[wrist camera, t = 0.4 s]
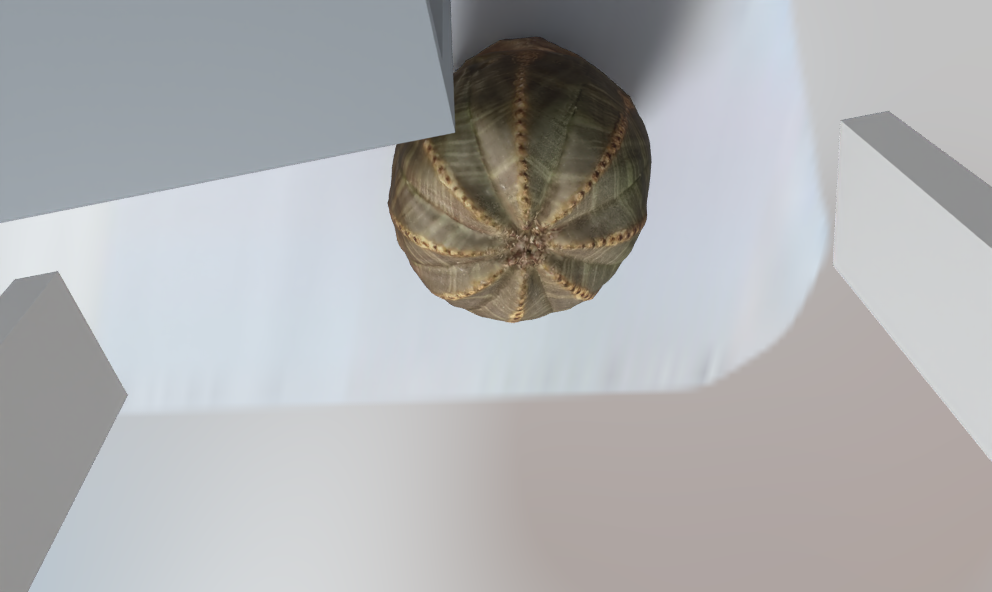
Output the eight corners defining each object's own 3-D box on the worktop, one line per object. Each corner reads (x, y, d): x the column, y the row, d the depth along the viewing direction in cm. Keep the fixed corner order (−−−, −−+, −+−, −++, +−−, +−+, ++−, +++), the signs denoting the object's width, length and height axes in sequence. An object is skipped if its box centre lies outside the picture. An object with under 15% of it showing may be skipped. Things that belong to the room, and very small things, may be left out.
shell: (384, 23, 37) (362, 111, 27) (624, 6, 37) (693, 87, 27) (410, 235, 42) (400, 374, 32) (618, 219, 43) (673, 353, 32)
